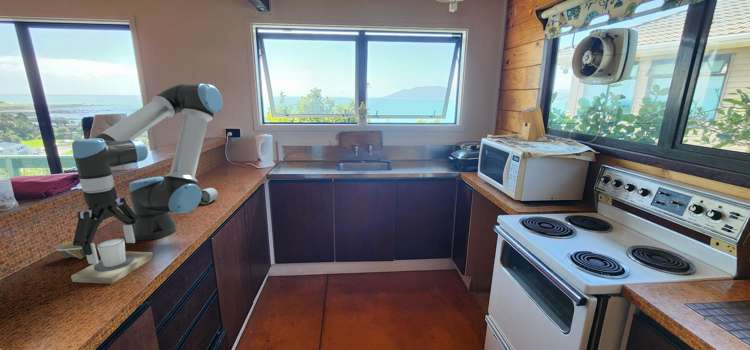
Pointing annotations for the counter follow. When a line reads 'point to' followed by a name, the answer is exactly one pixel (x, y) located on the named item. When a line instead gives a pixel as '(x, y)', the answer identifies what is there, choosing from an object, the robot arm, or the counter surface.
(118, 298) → the counter surface
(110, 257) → the shot glass
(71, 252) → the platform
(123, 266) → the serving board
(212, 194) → the ceramic mug
